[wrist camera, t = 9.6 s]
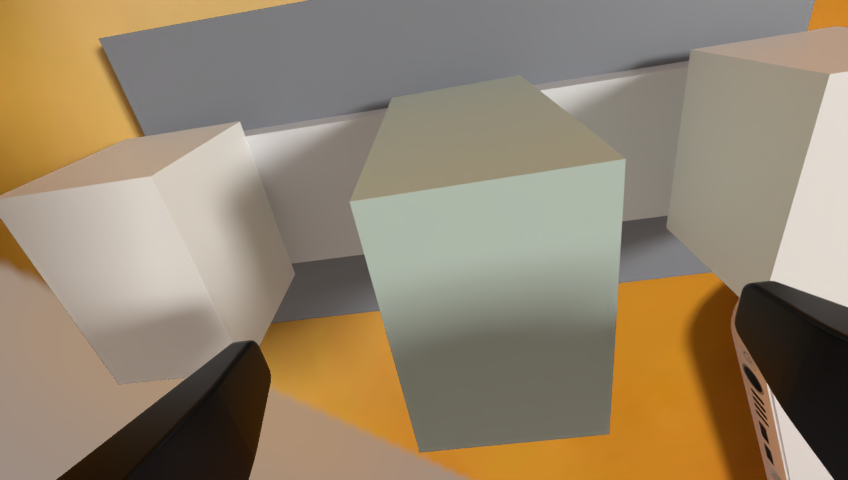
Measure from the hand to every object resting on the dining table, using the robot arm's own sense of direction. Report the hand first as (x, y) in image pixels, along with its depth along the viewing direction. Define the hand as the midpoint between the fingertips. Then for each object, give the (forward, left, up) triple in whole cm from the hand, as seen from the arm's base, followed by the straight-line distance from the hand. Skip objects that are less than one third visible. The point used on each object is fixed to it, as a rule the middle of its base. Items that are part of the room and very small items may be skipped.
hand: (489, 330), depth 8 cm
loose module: (0, 0, -8) cm, 8 cm away
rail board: (0, 0, -10) cm, 10 cm away
